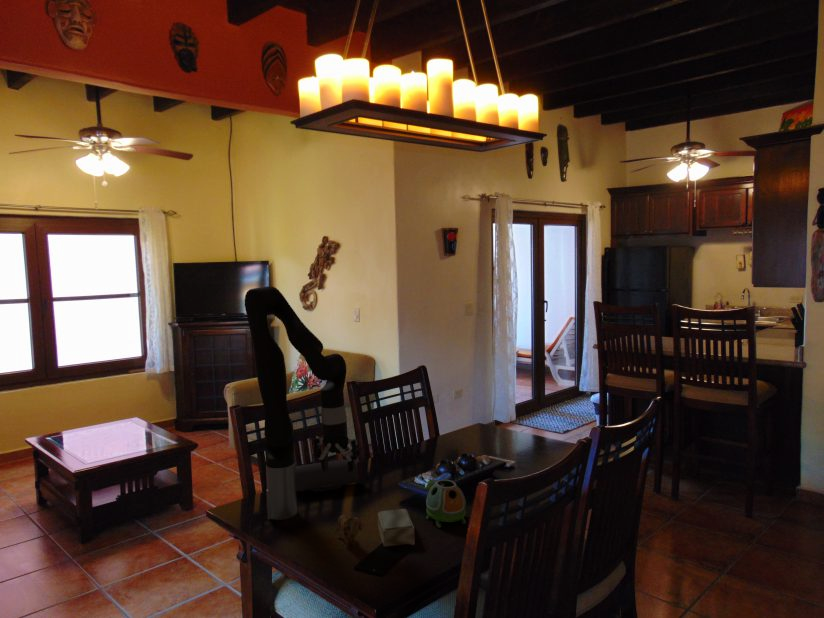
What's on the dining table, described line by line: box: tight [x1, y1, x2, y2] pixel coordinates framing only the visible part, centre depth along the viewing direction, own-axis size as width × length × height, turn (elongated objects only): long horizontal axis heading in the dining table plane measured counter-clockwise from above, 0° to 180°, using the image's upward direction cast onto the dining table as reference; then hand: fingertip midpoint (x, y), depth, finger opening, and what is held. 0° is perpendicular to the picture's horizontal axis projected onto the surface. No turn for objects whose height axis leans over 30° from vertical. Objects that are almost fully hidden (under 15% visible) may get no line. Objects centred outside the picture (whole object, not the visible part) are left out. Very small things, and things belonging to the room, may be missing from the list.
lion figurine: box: [335, 514, 365, 549], centre depth 172 cm, size 15×5×9 cm, turn 34°
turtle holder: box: [425, 479, 467, 528], centre depth 187 cm, size 12×18×12 cm
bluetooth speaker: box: [295, 459, 359, 493], centre depth 213 cm, size 23×9×10 cm, turn 108°
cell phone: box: [353, 542, 414, 577], centre depth 162 cm, size 9×18×1 cm, turn 153°
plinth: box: [377, 508, 416, 546], centre depth 175 cm, size 9×13×6 cm
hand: (338, 471), depth 179 cm, fingers open, 8 cm apart
